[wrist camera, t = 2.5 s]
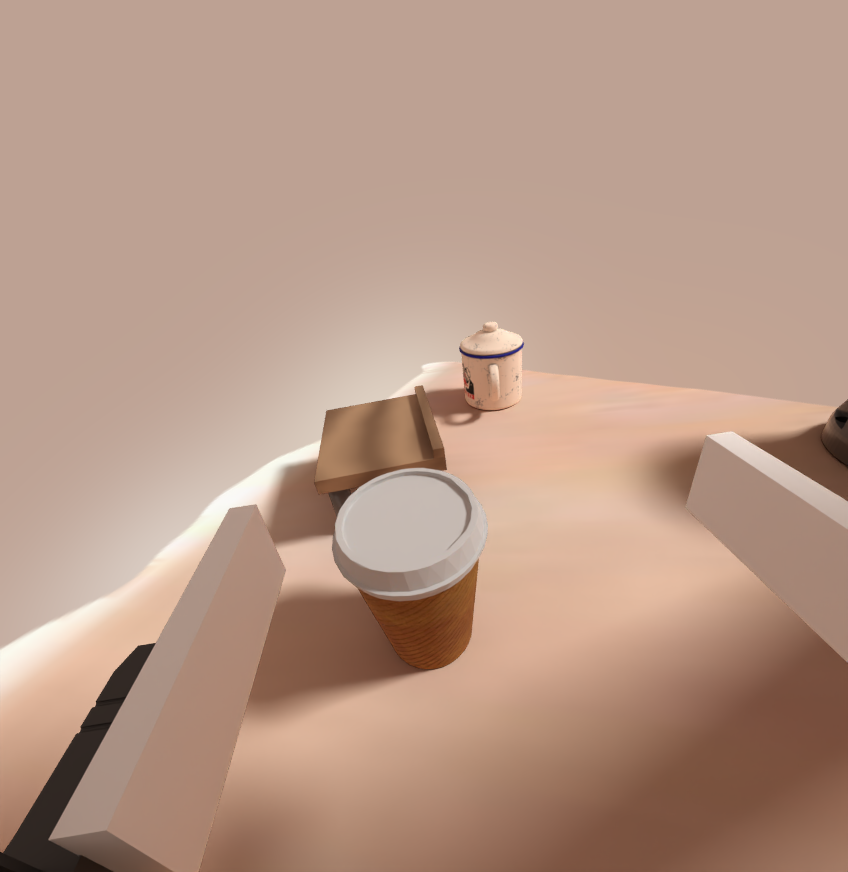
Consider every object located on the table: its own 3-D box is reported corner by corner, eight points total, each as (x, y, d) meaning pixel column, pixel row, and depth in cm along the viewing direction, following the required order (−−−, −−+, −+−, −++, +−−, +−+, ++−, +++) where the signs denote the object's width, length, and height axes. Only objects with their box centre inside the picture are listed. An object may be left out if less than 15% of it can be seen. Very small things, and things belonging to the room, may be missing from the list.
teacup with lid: (464, 387, 63) (458, 317, 57) (519, 382, 62) (519, 311, 56) (463, 424, 53) (456, 344, 47) (529, 420, 52) (531, 337, 46)
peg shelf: (431, 443, 50) (422, 385, 46) (452, 516, 38) (443, 447, 34) (341, 460, 50) (324, 403, 45) (335, 539, 38) (310, 473, 33)
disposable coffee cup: (344, 639, 29) (294, 529, 22) (423, 556, 35) (402, 449, 28) (441, 730, 23) (412, 617, 17) (517, 612, 29) (517, 494, 22)
